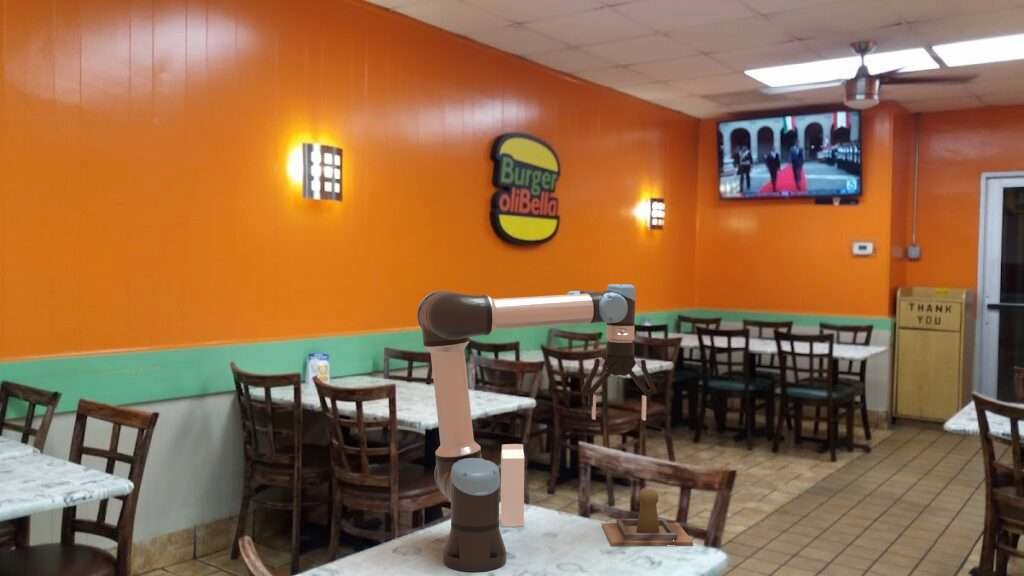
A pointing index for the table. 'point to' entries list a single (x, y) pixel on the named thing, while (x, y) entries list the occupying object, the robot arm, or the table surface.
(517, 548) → the table surface
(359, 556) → the table surface
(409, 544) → the table surface
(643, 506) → the brown tall rounded piece
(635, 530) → the board
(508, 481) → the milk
